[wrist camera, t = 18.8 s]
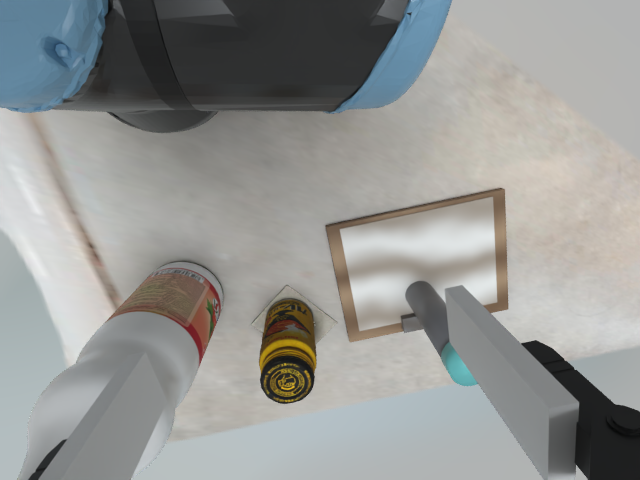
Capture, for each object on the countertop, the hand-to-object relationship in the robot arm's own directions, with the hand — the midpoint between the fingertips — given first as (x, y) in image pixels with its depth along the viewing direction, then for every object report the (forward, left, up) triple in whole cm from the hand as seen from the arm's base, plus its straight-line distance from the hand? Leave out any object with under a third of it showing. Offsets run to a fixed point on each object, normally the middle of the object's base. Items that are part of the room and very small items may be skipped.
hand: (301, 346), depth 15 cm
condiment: (+15, -4, -27) cm, 31 cm away
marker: (+14, +12, -26) cm, 32 cm away
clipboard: (+11, +13, -27) cm, 32 cm away
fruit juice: (+8, -16, -27) cm, 32 cm away
